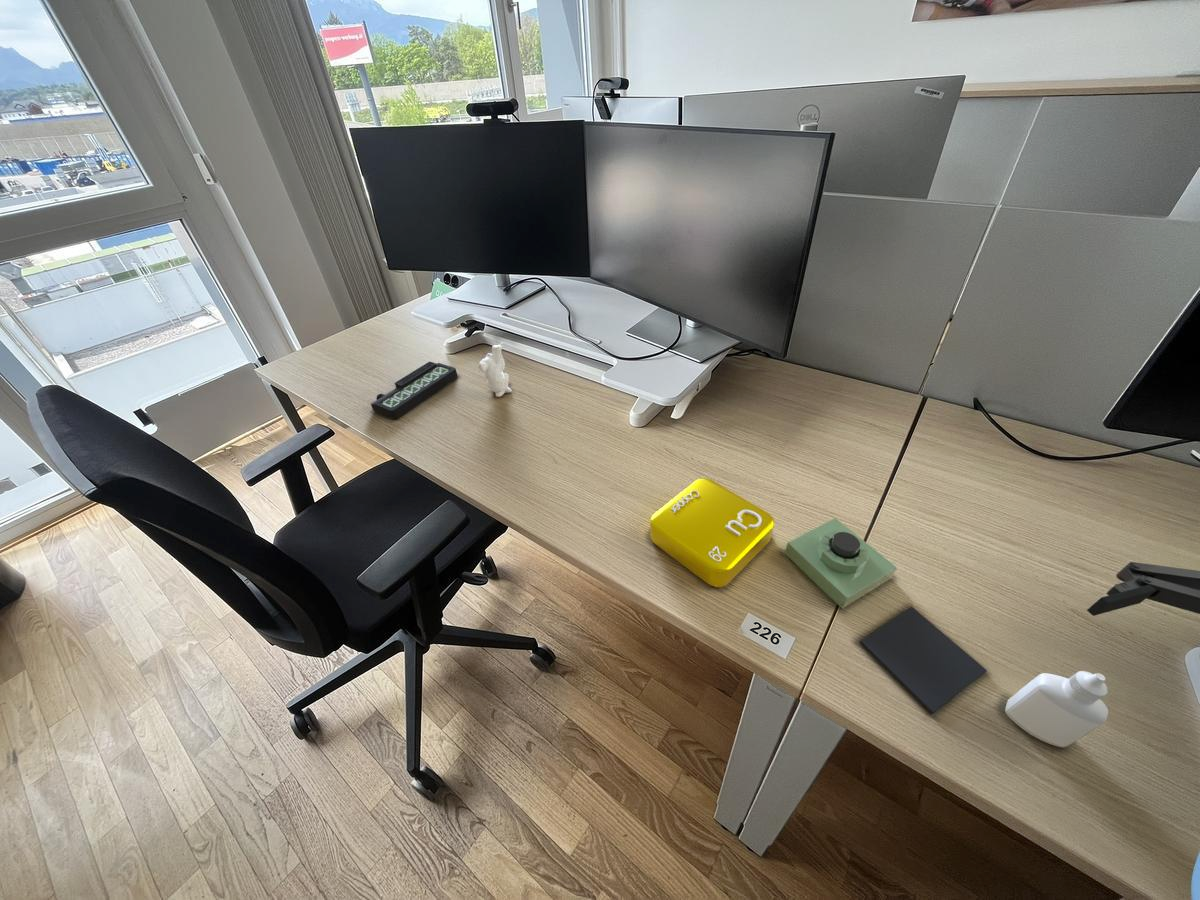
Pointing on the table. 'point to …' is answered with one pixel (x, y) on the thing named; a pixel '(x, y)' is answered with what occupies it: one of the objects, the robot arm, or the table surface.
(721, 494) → the element tile
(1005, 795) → the table surface
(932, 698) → the slate mat
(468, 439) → the table surface
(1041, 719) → the eye dropper bottle
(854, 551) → the black round knob
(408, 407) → the digital display
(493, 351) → the koala figurine
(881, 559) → the button housing
